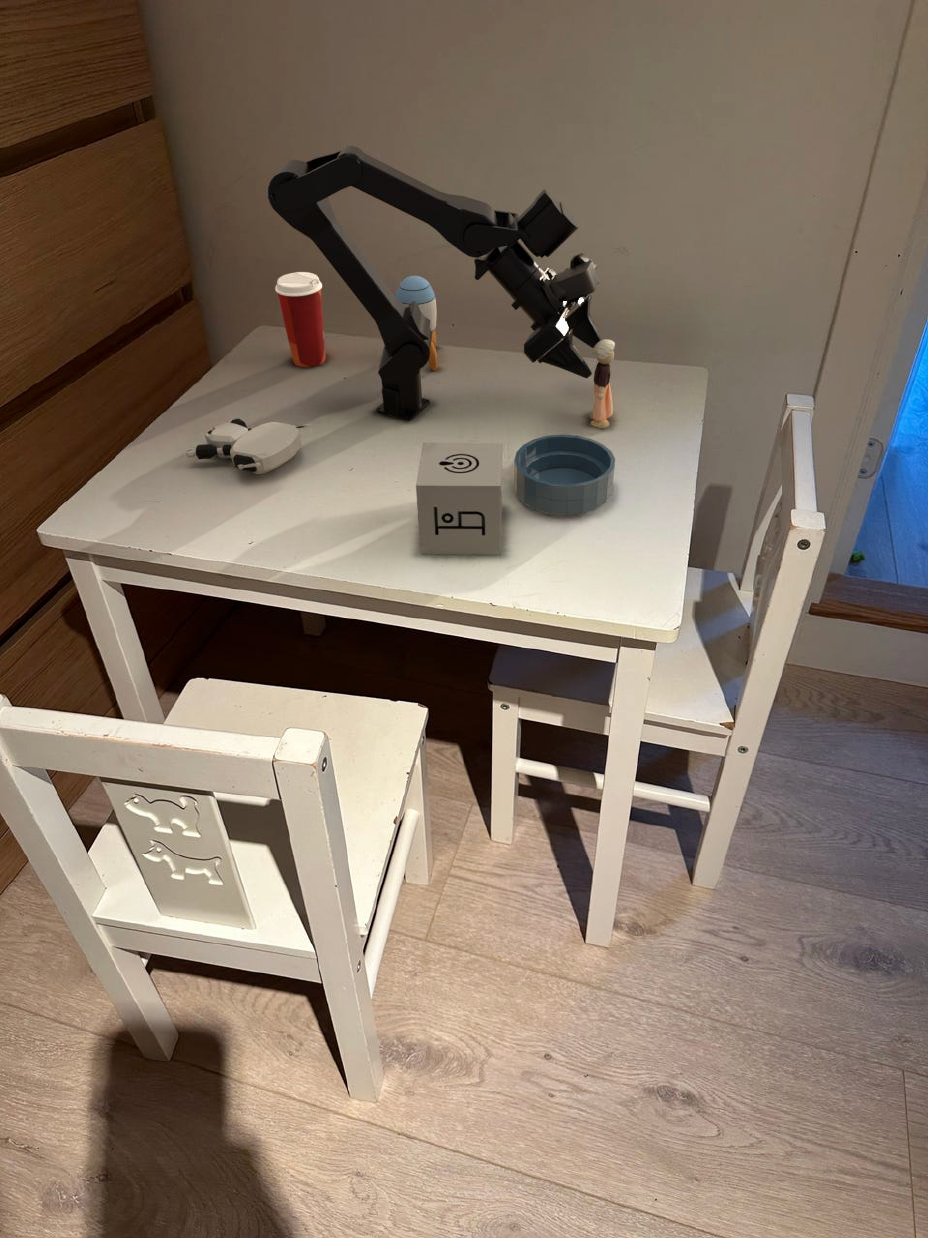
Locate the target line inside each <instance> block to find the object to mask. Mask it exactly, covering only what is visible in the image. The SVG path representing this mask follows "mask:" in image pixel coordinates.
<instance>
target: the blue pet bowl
mask: <svg viewBox="0 0 928 1238" xmlns="http://www.w3.org/2000/svg"><path fill="white" fill-rule="evenodd" d="M513 461H514V462H513V490H514V493H515V496H516V498H517V499H519V500H520V502H522V503H523V504H524V505H526V506H527V507H529V508H531V509H533V510H535V511H539V512H542V513H545V514H550V515H559V516H572V515H582V514H585V513H589V512H592V511H595V510H597V509H599V508H600V507H602V506H603V505H605V504H606V503H608V501H609V500H610V499H611V497H612V495H613V487H614V486H613V485H614V476H615V467H616V457H615V456H614V454H613V452H612V450H611V449H609V447H607V446H606V445H604V444H603V443H601V442H599V441H597V440H594V439H593V438H589V437H585V436H581V435H576V434H551V435H545V436H541V437H537V438H533V439H531V440H530V441H528V442H525V443H524V444H522V445H521V447H520V448H518V450H517V451H516V452H515V456H514V459H513Z"/></svg>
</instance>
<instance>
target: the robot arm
mask: <svg viewBox="0 0 928 1238" xmlns="http://www.w3.org/2000/svg"><path fill="white" fill-rule="evenodd" d="M350 187H353V188H355V189H357V190H359V191H360V192H363V193H364V194H367V195H369V196H371V197H372V198H375V199H377V200H379V201H381V202H382V203H385V204H387V205H389V206H391V207H393V208H395V209H397V210H399V211H401V212H403V213H405V214H406V215H409V216H411V217H413V218H415V219H417V220H419V221H421V222H422V223H425V224H427V225H428V226H430V227H431V228H433V229H434V230H435V231H436V232H437V233H438V234H440V235H441V237H442V238H443V239H444V240H445V241H447V242H448V243H449V244H450V245H452V246H453V247H455V248H456V249H457V250H459V251H460V252H461V253H463V254H464V255H466V256H467V257H470V258H474V260H473V262H474V268H475V269H474V280H476V281H479V280H481V278H483V276H485V274H487V272H489V274H490V275H491V276H492V277H493V278H494V279H495V280H496V281H497V283H498V284H499V285H500V286H501V287H502V289H503V290H504V291H505V292H506V293H507V294H508V295H509V296H510V297H511V298H512V300H513V302H512V303H511V305H510V306H511V307H512V308H513V309H514V311H517V310H518V309H519V308H520V309H521V310H522V311H523V312H524V314H526V316H527V317H528V318H529V319H530V320H531V321H532V324H531V325H530V328H531V330H533V332H531V334H530V335H529V336H528V337H527V339H526V340H525V342H524V343H523V354H524V355H525V356H526V357H527V358H528V360H529V361H530V362H531V363H532V364H534V363H535V362H538V363H539V364H542V363H544V364H547V365H550V366H553V367H556V368H559V369H561V370H563V371H567V372H569V373H571V374H574V375H577V376H579V377H581V378H583V379H588V378H590V377H591V376H593V375H592V374H593V372H592V370H591V368H590V367H589V364H588V363H587V362H586V361H585V359H584V358H583V356H582V355H581V354H580V352H579V350H578V349H577V348H576V346H575V344H574V343H573V337H575V338H576V339H578V340H579V341H581V342H582V343H584V344H585V345H586V346H589V347H590V348H592V349H593V348H594V347H595V345H596V344H597V343H598V342H600V341H601V340H603V338H602V337H601V334H600V333H599V330H598V328H597V326H596V323H595V322H594V319H593V317H592V314H591V304H592V297H593V296H592V294H593V293H594V292H596V290H597V287H598V285H599V284H600V279H599V276H598V274H597V271H596V270H597V268H598V264H597V263H595V262H593V261H594V260H593V258H589V257H588V256H586V255H585V254H584V253H583V252H581V253H578V254H575V255H573V256H572V258H571V259H570V263H569V267H566V268H565V269H564V270H563V271H561V272H558V273H557V272H556V271H554V269H553V268H551V267H550V268H549V267H546V268H545V269H543V268H542V266H541V265H540V264H539V263H538V262H537V261H536V260H535V258H534V257H533V256H532V255H534V256H535V257H536V258H539V257H540V258H541V259H543V258H544V257H546V258H549V257H550V256H552V254H554V252H555V251H557V250H558V249H559V248H560V247H561V246H562V245H563V244H564V243H565V242H566V241H567V240H568V239H569V238H570V237H571V236H572V235H574V233H575V232H576V231H577V230H578V229H579V228H580V225H579V223H578V221H577V219H576V218H575V217H574V215H573V214H572V213H571V211H570V210H569V209H568V207H567V206H566V205H565V204H564V203H563V201H559V200H558V199H557V198H556V196H554V195H552V194H550V193H549V191H548V190H547V189H542V190H541V192H540V193H539V194H538V195H536V197H535V199H534V200H533V201H532V203H531V204H530V205H529V206H528V207H527V208H526V209H525V210H523V212H522V213H521V214H519V213H517V212H511V211H504V210H498V209H494V208H493V207H492V205H490V204H489V203H487V202H484V201H481V200H478V199H475V198H472V197H468V196H465V195H459V194H450V193H446V192H444V191H440V190H438V189H436V188H434V187H432V186H430V185H428V184H427V183H425V182H422V181H420V180H418V179H416V178H414V177H412V176H410V175H409V174H406V173H404V172H402V171H400V170H398V169H396V168H394V167H392V166H391V165H388V164H387V163H384V162H382V161H381V160H379V159H377V158H375V157H373V156H372V155H369V154H367V153H365V152H364V151H363V150H362V149H361V148H359V147H358V146H354V145H349V146H348V145H347V146H345V147H344V148H342V149H340V150H338V151H335V152H332V153H331V152H330V153H328V154H327V153H326V154H324V155H320V156H319V155H318V156H317V157H314V158H311V159H308V160H306V161H304V160H297V159H291V160H287V161H285V162H283V163H282V164H281V165H280V166H279V168H278V169H277V170H276V172H275V173H274V175H273V177H272V178H271V180H270V181H269V184H268V187H267V200H268V203H269V204H270V206H271V208H272V209H273V211H275V213H277V214H278V215H279V216H280V218H282V219H283V220H284V221H285V222H286V223H287V224H288V225H289V226H290V227H292V228H293V229H294V230H295V231H297V232H298V233H300V234H302V235H304V236H305V237H307V238H308V239H310V240H311V241H312V242H313V243H314V244H315V246H316V247H317V248H318V249H319V251H320V252H321V253H322V255H323V257H325V259H326V261H328V262H329V263H330V265H331V267H332V268H333V269H334V270H335V271H336V273H337V274H338V275H339V277H340V278H341V279H342V280H343V282H344V283H345V285H346V286H347V287H348V289H350V291H351V292H352V293H353V294H354V296H355V297H356V299H357V300H358V301H359V302H360V304H361V305H362V306H363V308H364V309H365V310H366V311H367V313H368V314H369V315H370V317H371V318H372V319H373V320H374V322H375V324H376V326H377V329H378V331H379V334H380V336H381V339H382V342H383V345H385V347H384V346H383V350H382V354H381V358H380V363H379V366H378V367H379V368H378V371H377V373H378V376H379V377H380V380H381V397H382V403H381V404H379V406H377V407H376V408H375V412H376V413H378V414H382V415H386V416H391V417H395V418H398V419H402V420H407V421H412V420H413V419H414V418H416V417H417V416H418V415H419V414H420V413H422V412H423V411H424V410H425V409H426V408H428V406H429V405H431V400H430V399H428V398H423V395H422V393H423V392H422V378H421V369H422V368H424V366H426V365H427V364H428V360H429V357H430V350H431V341H432V331H431V329H430V323H431V320H429V319H428V318H426V317H425V316H424V315H423V314H422V312H421V310H420V308H419V307H418V305H417V303H416V302H415V301H413V302H412V303H411V304H410V305H409V306H406V305H405V304H403V303H402V302H400V301H399V300H397V299H396V295H394V293H393V292H392V291H391V290H390V288H389V287H388V286H387V283H385V282H384V280H383V279H382V278H381V276H380V275H379V273H378V272H377V271H376V269H375V268H374V267H373V265H372V263H370V261H369V260H368V259H367V257H366V256H365V255H364V253H363V252H362V251H361V249H360V248H359V247H358V245H357V244H356V243H355V241H354V239H352V238H351V236H350V235H349V234H348V232H347V231H346V230H345V228H344V226H343V225H342V224H341V223H340V222H339V220H338V219H337V218H336V215H335V213H334V210H333V207H332V206H331V203H330V200H329V197H330V196H333V195H334V194H336V193H339V192H340V191H342V190H345V189H346V188H350ZM519 240H520V241H521V242H522V243H523V244H522V243H521V242H520V241H519ZM524 246H525V247H526V248H527V249H526V248H525V247H524ZM530 253H531V254H532V255H531V254H530Z"/></svg>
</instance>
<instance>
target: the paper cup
mask: <svg viewBox="0 0 928 1238" xmlns="http://www.w3.org/2000/svg"><path fill="white" fill-rule="evenodd" d="M322 288H323V284H322V282H321V281H320V277H318V274H315V273H312V272H309V271H296V272H290V273H286V274H283V275H282V276H280V277H278V278H277V281H276V285H275V287H274V290H275V292H276V293H277V295H278V299H279V304H280V310H281V314H282V318H283V323H284V328H285V332H286V336H287V340H288V345H289V350H290V354H291V358H292V362H293V364H294V365H295V366H297V367H300V368H313V367H318V366H320V365H322V364H323V363H325V361H326V344H325V330H324V316H323V302H322V301H323V300H322Z"/></svg>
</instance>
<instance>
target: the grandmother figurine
mask: <svg viewBox="0 0 928 1238" xmlns="http://www.w3.org/2000/svg"><path fill="white" fill-rule="evenodd" d="M615 346H616V343H615V342H614V341H613V340H612V339H602V340H601V341H600V342H598V343H597V344H596V345H595V347H594V348H592V349H591V354H592V355H594V354H595V357H596V360H597V363H596V366H595V369H594V373H593V396H594V403H593V407H592V412H591V413H590V415H589V419H590V420H591V421H590V426H592V427H595V428H599V429H607V428H609V426H610V422H609V421H608V420H607V419H608V418H612V416H613V414H614V413H613V395H612V389H611V383H610V380H611V365H610V364H611V363H612V362H613V360H614V359H615V352H614V349H615Z"/></svg>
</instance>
